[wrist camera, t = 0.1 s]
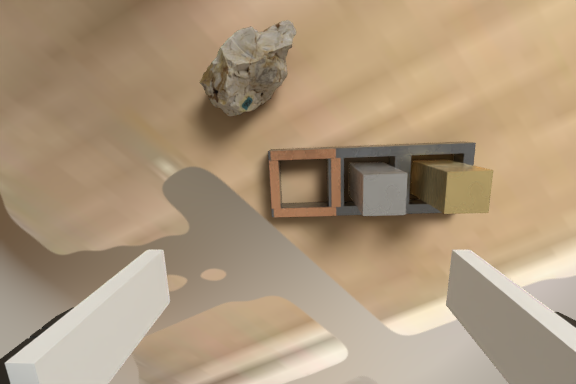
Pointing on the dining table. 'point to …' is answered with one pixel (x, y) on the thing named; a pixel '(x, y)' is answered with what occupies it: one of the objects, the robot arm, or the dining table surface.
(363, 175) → the grey square-ended block
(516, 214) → the dining table surface
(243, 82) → the rock
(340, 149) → the grey block rack
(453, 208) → the tan rectangular block
